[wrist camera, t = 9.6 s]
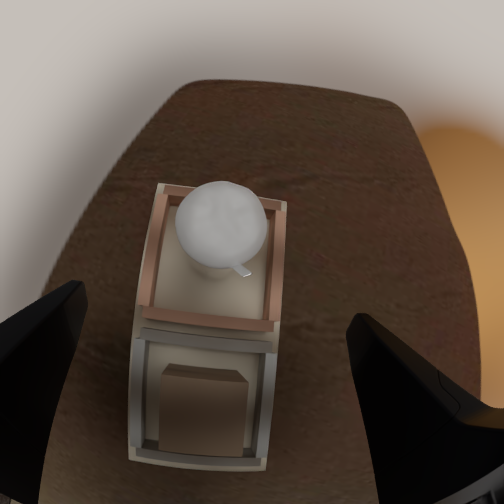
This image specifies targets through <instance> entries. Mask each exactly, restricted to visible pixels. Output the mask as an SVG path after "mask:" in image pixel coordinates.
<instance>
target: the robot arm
mask: <svg viewBox="0 0 504 504" xmlns="http://www.w3.org/2000/svg"><path fill="white" fill-rule="evenodd" d="M87 308H88V300H87V295H86V290H85V285H84V283H83V282H82V281H77V280H71V281H69V282H67V283H66V284H64V285H62V286H60V287H59V288H57V289H55V290H54V291H52V292H50V293H48V294H47V295H45V296H43V297H42V298H40V299H38V300H37V301H35V302H34V303H32V304H30V305H29V306H27V307H25V308H24V309H23V310H20V311H19V312H17V313H16V314H14V315H13V316H11V317H10V318H8V319H6V320H5V321H4V322H2V323H0V504H10V502H11V499H13V500H15V501H17V502H20V503H22V504H38V499H39V490H40V483H41V477H42V471H43V465H44V460H45V457H44V456H45V454H46V449H47V444H48V440H49V435H50V431H51V427H52V423H53V419H54V416H55V412H56V408H57V405H58V401H59V398H60V395H61V392H62V388H63V385H64V382H65V379H66V376H67V373H68V370H69V367H70V364H71V362H72V359H73V356H74V353H75V350H76V347H77V344H78V340H79V336H80V333H81V329H82V325H83V322H84V318H85V315H86V312H87ZM346 340H347V346H348V352H349V358H350V365H351V371H352V376H353V380H354V384H355V388H356V392H357V396H358V400H359V404H360V408H361V412H362V417H363V421H364V426H365V430H366V435H367V439H368V444H369V449H370V454H371V459H372V464H373V469H374V474H375V481H376V487H377V493H378V499H379V504H504V408H503V409H502V408H501V409H500V408H493V407H490V406H488V405H486V404H484V403H483V402H482V401H480V400H479V399H477V398H476V397H474V396H473V395H472V394H470V393H469V392H467V391H466V390H464V389H463V388H462V387H460V386H459V385H457V384H456V383H455V382H453V381H452V380H451V379H450V378H448V377H447V376H446V375H444V374H443V373H442V372H441V371H439V370H437V368H436V367H434V366H433V365H432V364H431V363H429V362H428V361H427V360H426V359H424V358H423V357H422V356H421V355H419V354H418V353H417V352H416V351H414V350H413V349H412V348H411V347H409V346H408V345H407V344H405V343H404V342H403V341H402V340H400V339H399V338H398V337H397V336H395V335H394V334H393V333H391V332H390V331H389V330H388V329H386V328H385V327H384V326H382V325H381V324H380V323H379V322H377V321H376V320H375V319H373V318H372V317H371V316H370V315H368V314H366V313H357V314H356V315H355V316H354V317H353V319H352V321H351V323H350V325H349V327H348V329H347V331H346Z"/></svg>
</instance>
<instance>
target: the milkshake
mask: <svg viewBox="0 0 504 504" xmlns="http://www.w3.org/2000/svg"><path fill="white" fill-rule="evenodd" d="M175 227H176V233H177V237H178V240H179V243H180V245H181V247H182V248H183V250H184V251H185V252H186V254H187V255H188V257H189V258H190V260H191V262H192V264H193V266H194V268H195V270H196V271H197V272H198V273H199V274H201V275H202V276H203V277H204V278H206V279H215V280H221V279H222V278H224V277H225V276H227V275H228V274H229V273H231V272H232V271H234V270H235V271H236V272H237V273H238V274H239V275H240V276H242V277H246V276H249V275H252V274H253V273H252V272H250V271H249V270H248V269H246V268H245V267H244V266H242V264H244V263H246V262H247V261H249V260H250V259H252V258H253V257H254V256H255V255H256V254H257V253H258V251H259V250H260V249H261V247H262V245H263V243H264V240H265V237H266V233H267V219H266V215H265V212H264V209H263V206H262V204H261V202H260V200H259V199H258V198H257V196H256V195H255V194H254V193H253V192H252V191H251V190H249V189H248V188H246V187H243V186H240V185H237V184H234V183H231V182H227V181H217V182H211V183H207V184H204V185H202V186H199V187H197V188H196V189H194V190H193V191H192V192H190V193H189V194H188V195H187V196H186V197H185V198H184V200H183V201H182V202H181V204H180V205H179V207H178V210H177V213H176V218H175Z"/></svg>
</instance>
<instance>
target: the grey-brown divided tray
mask: <svg viewBox="0 0 504 504" xmlns="http://www.w3.org/2000/svg"><path fill="white" fill-rule="evenodd" d="M194 189H196V188H194V187H186V186H178V185H170V184H161V183H158V186H157V190H156V195H155V199H154V203H153V208H152V212H151V217H150V221H149V226H148V231H147V236H146V241H145V247H144V252H143V258H142V264H141V270H140V276H139V283H138V290H137V297H136V304H135V313H134V321H133V331H132V341H131V354H130V368H129V389H128V452H129V460H134V461H139V462H144V463H150V464H156V465H162V466H169V467H177V468H186V469H197V470H212V471H265V470H266V462H267V453H268V445H269V436H270V427H271V418H272V408H273V398H274V388H275V377H276V366H277V354H278V342H279V329H280V316H281V301H282V286H283V269H284V251H285V230H286V207H287V202H285V201H279V200H274V199H268V198H262V197H257V198H258V199H259V200H260V202H261V204H262V206H263V209H264V212H265V215H266V219H267V233H266V237H265V240H264V243H263V245H262V247H261V249H260V250H259V251H258V253H257V254H256V255H255V256H254V257H253V258H252V259H250V260H249V261H247V262H246V263H244V264H242V266H244V267H245V268H246V269H248V270H249V271H250V272H252V273H253V274H252V275H249V276H246V277H242V276H240V275H239V274H238V273H237V272H236V271H235V270H234V271H232V272H231V273H229V274H228V275H227V276H225V277H224V278H222V279H221V280H215V279H206V278H204V277H203V276H202V275H201V274H199V273H198V272H197V271H196V270H195V268H194V266H193V264H192V262H191V260H190V258H189V257H188V255H187V254H186V252H185V251H184V250H183V248H182V247H181V245H180V243H179V240H178V237H177V233H176V227H175V218H176V213H177V210H178V207H179V205H180V204H181V202H182V201H183V200H184V198H185V197H186V196H187V195H188V194H189V193H190V192H192V191H193V190H194Z"/></svg>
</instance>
